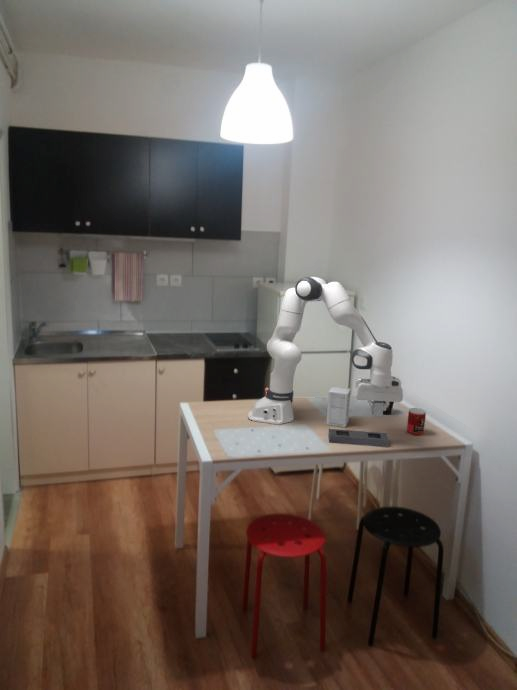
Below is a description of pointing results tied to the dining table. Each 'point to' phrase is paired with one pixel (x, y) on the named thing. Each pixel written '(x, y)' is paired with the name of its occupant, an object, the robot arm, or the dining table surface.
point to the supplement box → (338, 406)
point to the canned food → (416, 421)
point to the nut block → (378, 408)
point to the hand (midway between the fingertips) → (377, 409)
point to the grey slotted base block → (358, 437)
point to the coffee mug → (388, 408)
